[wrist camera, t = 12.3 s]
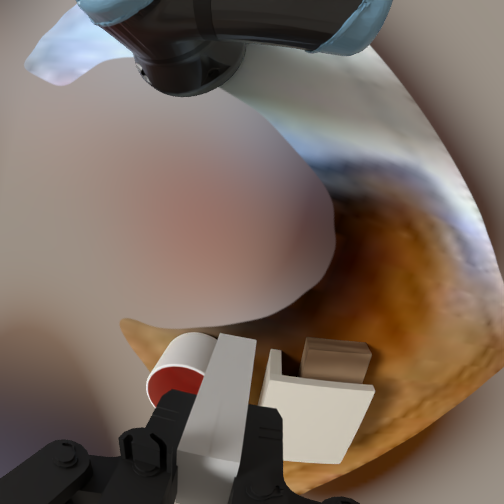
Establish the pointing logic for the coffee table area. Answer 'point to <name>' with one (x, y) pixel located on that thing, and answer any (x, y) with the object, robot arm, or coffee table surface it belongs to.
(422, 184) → the coffee table surface
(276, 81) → the coffee table surface
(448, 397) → the coffee table surface
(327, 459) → the shelf
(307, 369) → the board
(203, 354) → the cup
